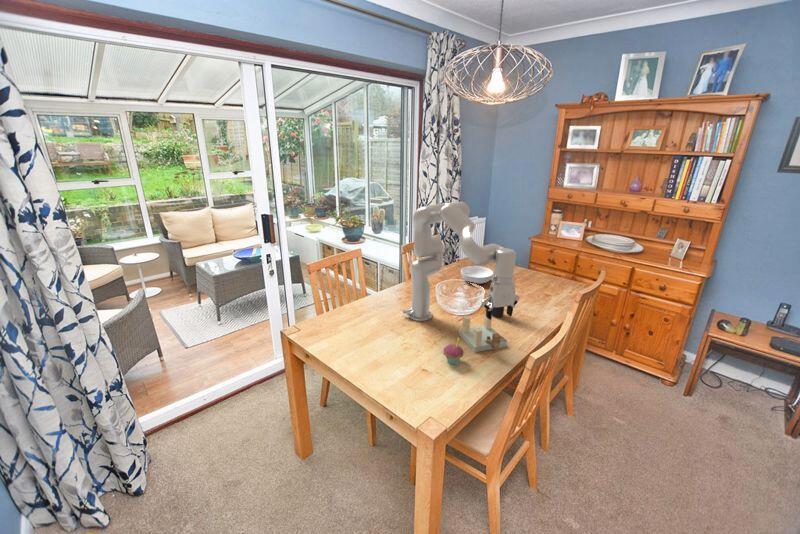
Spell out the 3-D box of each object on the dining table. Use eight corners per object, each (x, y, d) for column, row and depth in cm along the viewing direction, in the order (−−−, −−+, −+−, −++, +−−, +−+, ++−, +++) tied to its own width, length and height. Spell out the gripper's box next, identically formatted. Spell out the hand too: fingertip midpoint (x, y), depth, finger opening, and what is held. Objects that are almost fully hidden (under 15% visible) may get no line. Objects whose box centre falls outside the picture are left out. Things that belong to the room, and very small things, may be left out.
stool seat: (474, 352, 155) (476, 333, 152) (458, 333, 169) (460, 316, 166) (506, 346, 159) (508, 327, 156) (488, 329, 174) (490, 311, 170)
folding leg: (484, 341, 158) (486, 327, 156) (489, 340, 159) (491, 326, 157) (494, 350, 151) (495, 336, 149) (499, 350, 152) (500, 335, 149)
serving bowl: (455, 277, 239) (455, 267, 237) (482, 273, 245) (483, 264, 242) (469, 288, 220) (470, 278, 218) (498, 285, 226) (499, 275, 224)
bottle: (504, 313, 189) (508, 279, 182) (501, 318, 184) (505, 283, 177) (492, 310, 192) (496, 276, 185) (488, 315, 187) (492, 281, 180)
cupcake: (460, 355, 153) (462, 331, 149) (464, 367, 145) (467, 342, 141) (441, 355, 152) (442, 331, 148) (444, 367, 144) (445, 342, 140)
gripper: (488, 284, 136) (484, 323, 142) (527, 280, 140) (522, 318, 146) (479, 277, 142) (476, 315, 148) (516, 273, 147) (511, 310, 153)
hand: (498, 316), depth 147 cm, fingers open, 9 cm apart
